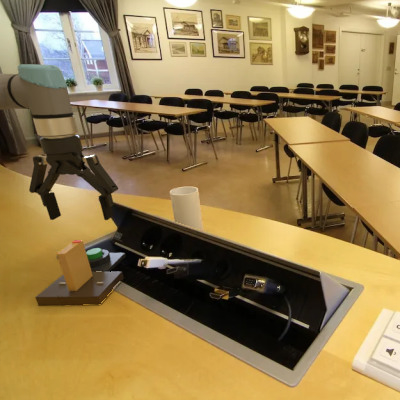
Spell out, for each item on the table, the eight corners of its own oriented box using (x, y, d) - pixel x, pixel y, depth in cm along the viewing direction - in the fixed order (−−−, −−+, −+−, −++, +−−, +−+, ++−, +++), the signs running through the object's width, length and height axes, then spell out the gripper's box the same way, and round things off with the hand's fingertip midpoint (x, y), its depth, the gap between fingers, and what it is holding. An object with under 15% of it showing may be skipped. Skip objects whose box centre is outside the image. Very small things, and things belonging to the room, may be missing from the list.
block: (65, 274, 85) (62, 264, 84) (87, 256, 93) (85, 247, 92) (108, 274, 85) (105, 264, 84) (126, 256, 93) (124, 247, 92)
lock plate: (38, 306, 73) (34, 296, 72) (68, 279, 82) (66, 271, 82) (100, 305, 74) (98, 295, 73) (124, 279, 83) (122, 270, 82)
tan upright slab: (76, 291, 74) (64, 252, 71) (68, 291, 74) (55, 252, 71) (93, 275, 80) (82, 239, 76) (85, 275, 80) (74, 239, 76)
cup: (176, 243, 101) (167, 196, 95) (179, 232, 108) (171, 187, 102) (203, 240, 103) (197, 193, 97) (204, 229, 110) (198, 185, 105)
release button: (84, 260, 86) (82, 254, 86) (92, 253, 90) (91, 247, 89) (97, 260, 87) (96, 254, 86) (105, 253, 90) (104, 247, 89)
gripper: (122, 133, 79) (138, 212, 87) (18, 132, 78) (44, 211, 86) (103, 139, 72) (123, 224, 80) (-10, 137, 71) (21, 223, 79)
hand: (82, 217), depth 83 cm, fingers open, 13 cm apart
